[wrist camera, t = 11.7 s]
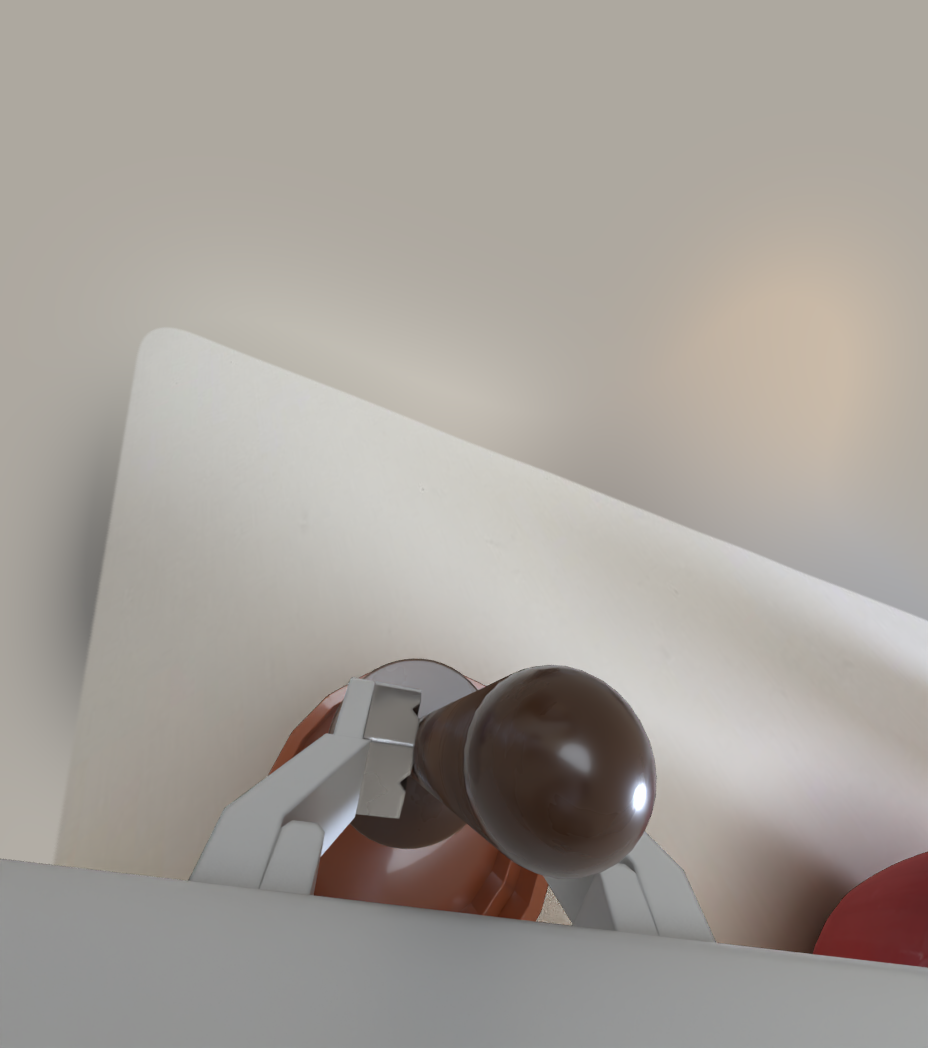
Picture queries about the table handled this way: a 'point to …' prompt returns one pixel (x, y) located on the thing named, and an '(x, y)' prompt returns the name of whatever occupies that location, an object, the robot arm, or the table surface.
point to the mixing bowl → (882, 918)
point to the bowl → (418, 858)
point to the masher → (522, 767)
